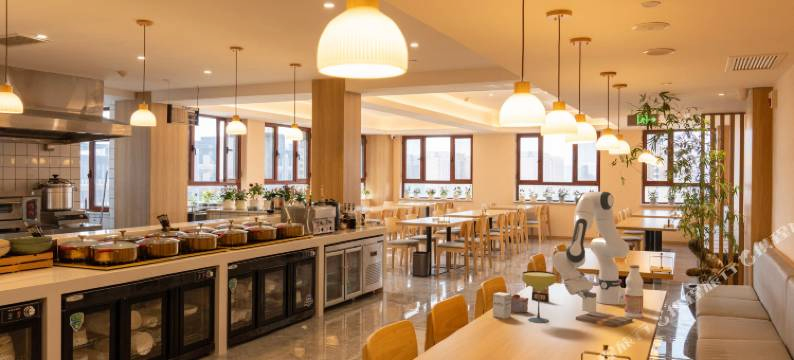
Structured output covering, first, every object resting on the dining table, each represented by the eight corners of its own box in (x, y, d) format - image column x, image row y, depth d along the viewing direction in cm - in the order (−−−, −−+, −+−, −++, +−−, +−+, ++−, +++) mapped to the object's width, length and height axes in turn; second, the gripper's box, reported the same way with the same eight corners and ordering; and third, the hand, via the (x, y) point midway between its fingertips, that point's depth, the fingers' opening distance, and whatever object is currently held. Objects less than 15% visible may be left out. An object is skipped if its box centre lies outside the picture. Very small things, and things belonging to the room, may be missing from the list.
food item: (529, 311, 351) (529, 294, 351) (526, 314, 343) (526, 296, 343) (505, 309, 356) (506, 291, 356) (502, 311, 349) (502, 294, 349)
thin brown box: (549, 301, 377) (549, 282, 377) (547, 302, 376) (548, 282, 376) (532, 299, 384) (533, 280, 384) (531, 299, 382) (531, 280, 382)
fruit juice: (632, 318, 336) (633, 267, 336) (621, 314, 345) (621, 264, 344) (646, 317, 339) (647, 266, 339) (634, 313, 348) (635, 263, 348)
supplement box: (492, 316, 337) (492, 293, 336) (499, 314, 342) (500, 291, 342) (503, 319, 332) (504, 295, 331) (511, 316, 337) (511, 293, 337)
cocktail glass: (536, 326, 317) (537, 277, 317) (514, 318, 333) (514, 272, 333) (563, 322, 325) (564, 275, 325) (540, 315, 341) (541, 269, 341)
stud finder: (586, 309, 341) (586, 291, 341) (596, 311, 337) (596, 293, 336) (582, 310, 338) (582, 292, 338) (592, 312, 334) (592, 294, 334)
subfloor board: (594, 313, 346) (594, 311, 346) (632, 321, 330) (632, 318, 330) (575, 319, 332) (575, 316, 332) (614, 327, 316) (614, 324, 316)
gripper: (565, 276, 336) (581, 297, 329) (585, 272, 350) (601, 292, 343) (558, 283, 339) (574, 304, 332) (578, 279, 353) (593, 299, 346)
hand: (588, 298), depth 338 cm, fingers closed on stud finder, 4 cm apart
